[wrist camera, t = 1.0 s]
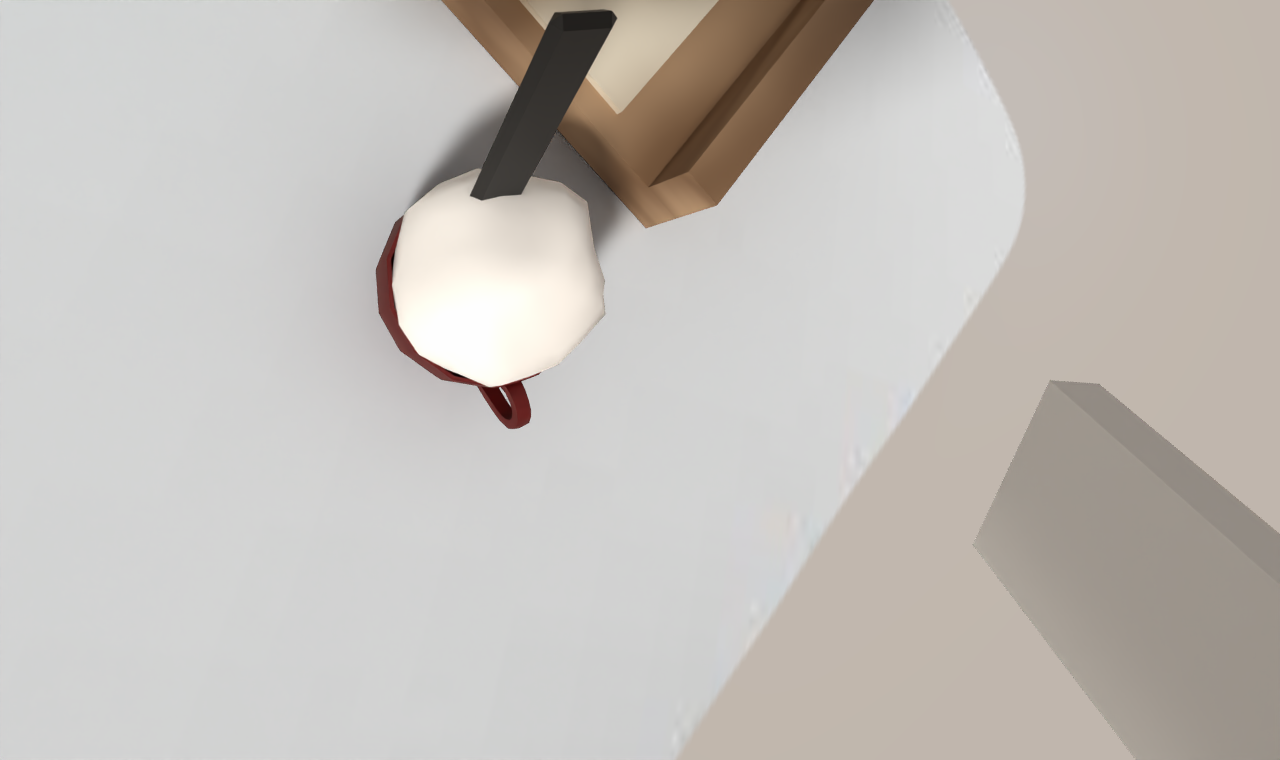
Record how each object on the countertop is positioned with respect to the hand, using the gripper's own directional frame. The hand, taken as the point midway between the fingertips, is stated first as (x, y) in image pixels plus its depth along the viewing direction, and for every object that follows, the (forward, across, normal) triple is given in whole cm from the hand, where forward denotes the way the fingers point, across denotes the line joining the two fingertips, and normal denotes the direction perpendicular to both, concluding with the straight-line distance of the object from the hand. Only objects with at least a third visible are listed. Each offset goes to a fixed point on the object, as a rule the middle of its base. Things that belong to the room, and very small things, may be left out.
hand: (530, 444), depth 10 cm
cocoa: (+20, 0, -7) cm, 21 cm away
